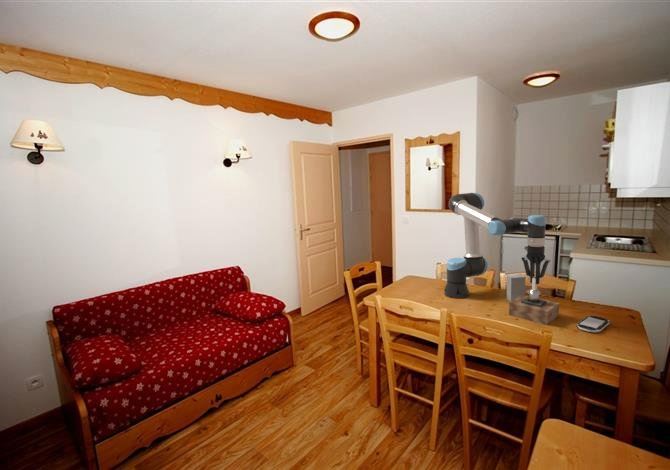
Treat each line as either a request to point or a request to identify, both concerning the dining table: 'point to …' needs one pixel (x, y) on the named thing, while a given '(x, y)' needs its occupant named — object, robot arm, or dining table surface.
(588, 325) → the gaming console
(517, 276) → the skincare box
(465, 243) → the robot arm
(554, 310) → the socket block
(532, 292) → the peg
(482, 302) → the dining table surface
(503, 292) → the dining table surface
